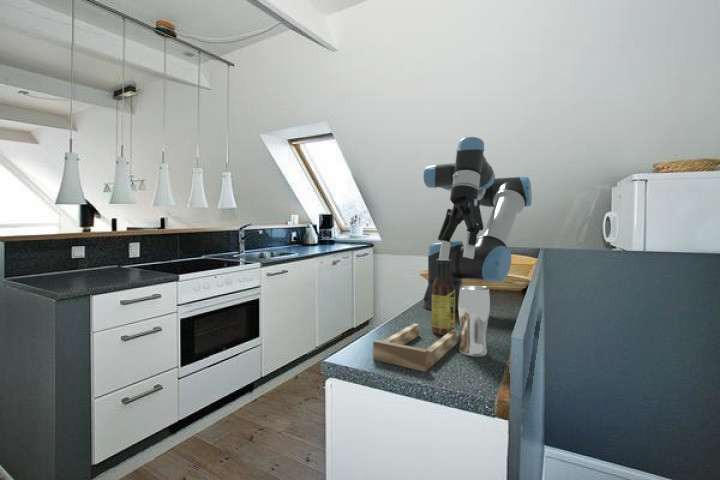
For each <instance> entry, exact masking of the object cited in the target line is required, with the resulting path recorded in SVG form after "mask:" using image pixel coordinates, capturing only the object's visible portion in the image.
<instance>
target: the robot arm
mask: <svg viewBox="0 0 720 480" xmlns="http://www.w3.org/2000/svg"><path fill="white" fill-rule="evenodd" d="M456 149H457V150H456V156H455V162H454V163H441V164H433V165H428V166H426V167H425V168H424V170H423V177H422V178H423V182H424V185H425V186H426V187H427V188H429V189H432V188H433V189H436V188H441V189H443V190H447V191H448V192H450V196H449V200H450V202H451V203H452V204H453V206H452V209H451V208H447V210H446V212H445V214H446V215H445V217H444V221H443V223H442V226H441V229H440V231H439V234H438V237H437V240H438V241H440V242H436V243H434V242H433V243H431V244H430V245H429V247H428V255H427V259H428V260H427V263H428V264H427V265H428V266H427V271H428V272H427V275H428V276H427V279H428V281H427V287H426V289H425V293H424V294H423V298H422V306H423V308H425V309H427V310H431V311H432V284H433V282H434V280H435V278H436V277H437V275H436V273H437V266H436V260H437V259H449V260H451V278H452V281H453V284H454V287H455V312H458V297H459V287H460V286H463V280H470V281H472V280H473V281H481V282H487V283H500V282H503V281H505V280H506V278H507V276H508V275H509V273H510V269H511V264H512V252H511V250H510V248H509V246H507V243H508V240H509V237H510V234H511V233H512V230H513V229H512V228H513V226H514V223H515V221H516V217H517V215H518V214H520V213H521V212H522V211H523V210H524V208H525V207H526V208H527V207H531V205H532V203H533V202H532V201H533V195H532V193H533V191H532V185H531V180H530V178H529V177H527V176H515V177H499V178H498V177H497V178H496V175H495V171H494V169H493V167H492V166H491V164H490V163H489V162H488V161H487V159H486V157H485V156H484V153H485V143H484V141H483V139H482V138H479V137H476V136H466V137H463V138H461V139H460V141H459V142H458V146H457V148H456ZM480 206H482V207H487V208H488V207H489V208H493V209H492V212H491V214H490V216H489V218H488V221H487V223H486V225H485V227H484V223H483V217H482V213H481V208H480ZM463 221H464V224H465V226H466V230H465V231H466V233H465V240H464V243H463V241H462V240H455V241H451V240H452V237H453V235H454V233H455V231H456V229H457V227H458V225H460V224H461V223H462V222H463ZM480 231H483V232H482V234H481V236H478V234H479V233H480Z"/></svg>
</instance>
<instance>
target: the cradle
mask: <svg viewBox="0 0 720 480" xmlns="http://www.w3.org/2000/svg"><path fill="white" fill-rule="evenodd" d="M419 335H420V324H419V323H412V324H411V325H409V326H406V327H404V328H403V329H401V330H400V331H397V332H396V333H394V334H391V335H390V336H388V337H387V338H385V339H383V340H380V339H375V340H374V341H373V342H372V344H373V345H372V346H373V347H372V350H373V351H372V352H373V353H372V356H373V357H372V359H373V361H376V362H377V361H378V362H383V363H386V364H390V365H396V366H399V367H404V368H408V369H412V370H417V371H419V372H420V371H421V372H426V371H428V370H429V369H430V368H431V367H432V366H433V365H434V364H436V363H437V362H438V361H439V360H440V359H441V358H443V356H445V355H446V354H447V353H448V352H449V351H451V349H452V348H454V347H455V346H456V345H457V344H458V343H459V330H457V329H454V330H451V331H450V332H449V333H447V334H446V335H442V337H441V338H439V339H438V340H437V341H435V342H434V343H433V344H431V345H430V346H429V347H427V348H426V349H425V348H421V347H416V346H412V345H406V344H408V343H410V342H412V341H413V340H414V339H416V338H417V337H419Z"/></svg>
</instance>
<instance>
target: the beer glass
mask: <svg viewBox="0 0 720 480" xmlns="http://www.w3.org/2000/svg"><path fill="white" fill-rule="evenodd" d="M490 299H491V298H490V288H489V287H488V286H483V285H477V284H476V285H474V284H473V285H471V284H468V285H467V284H465V285H462V286H460V287H459V297H458V311H457V313H458V320H459V325H460V331H461V332H460V334H461V336H460V338H461V339H460V344H459V349H458V351H459V352H460V353H461V354H462V355H465V356H468V357H475V358H476V357H478V358H479V357H484V356H486V355H487V353H488V351H487V343H486V333H487V329H488V328H487V327H488V324H489V323H488V322H489V319H490V318H489V317H490V312H491V311H490V309H491V301H490Z"/></svg>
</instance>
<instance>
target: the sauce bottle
mask: <svg viewBox="0 0 720 480" xmlns="http://www.w3.org/2000/svg"><path fill="white" fill-rule="evenodd" d="M436 266H437V273H436V275H437V277H436V278H435V280H434V282H433V284H432V310H431V332H432V333H434V334H435V335H439V336H445V335H446V334H447V333H449V332H450V331H451V330H455V327H456V311H455V287H454V284H453V281H452V278H451V260H449V259H437V260H436Z"/></svg>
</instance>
